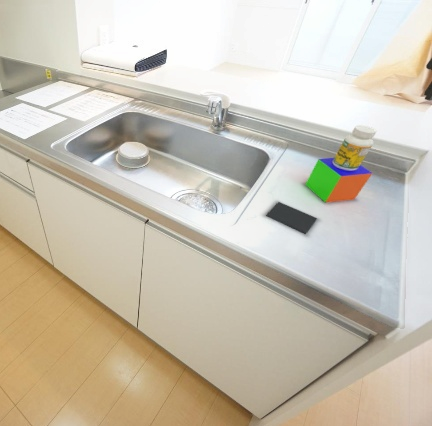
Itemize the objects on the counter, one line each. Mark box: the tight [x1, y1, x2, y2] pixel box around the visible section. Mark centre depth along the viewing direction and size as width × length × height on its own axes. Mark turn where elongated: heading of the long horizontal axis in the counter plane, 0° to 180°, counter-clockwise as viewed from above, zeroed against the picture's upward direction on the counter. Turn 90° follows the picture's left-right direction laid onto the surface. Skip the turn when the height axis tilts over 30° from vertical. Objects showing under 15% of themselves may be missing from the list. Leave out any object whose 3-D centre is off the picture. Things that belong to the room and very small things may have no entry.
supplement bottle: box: [333, 124, 377, 171], centre depth 66 cm, size 5×5×10 cm
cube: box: [304, 157, 373, 203], centre depth 72 cm, size 8×8×8 cm
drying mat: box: [266, 201, 318, 235], centre depth 67 cm, size 9×7×1 cm
